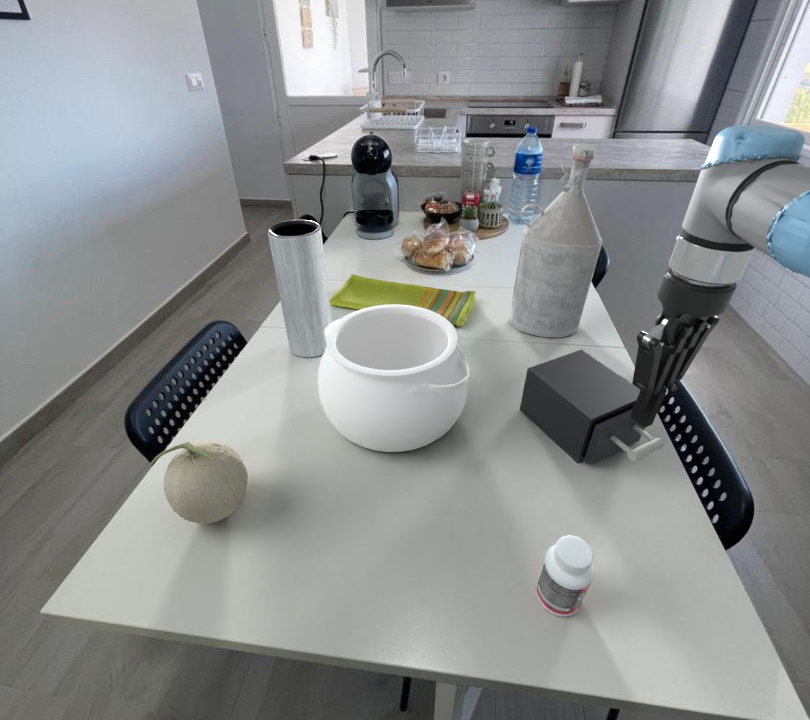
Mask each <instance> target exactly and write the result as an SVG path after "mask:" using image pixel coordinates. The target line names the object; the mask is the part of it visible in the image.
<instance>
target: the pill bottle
mask: <svg viewBox="0 0 810 720" xmlns="http://www.w3.org/2000/svg"><path fill="white" fill-rule="evenodd" d="M593 562H594V553H593V549H592V548H591V546H590V544H589V543H587V541H585V540H584V539H582V538H581V537H579V536H576V535H572V534H571V535H569V534H568V535H564V536H561V537H559V539H558V540H557V542H556V543H555V544H553V545H551V546H550V547H549V548H548V549H547V551H546V553H545V555H544V558H543V561H542V565H541V568H540V571H539V575H538V577H537V580H536V584H535V593H536V597H537V599H538V601H539V603H540V605H541V606H542V607H543V608H544V609H545V610H546V611H547V612H548V613H550V614H552V615H554V616H557V617H565V618H567V617H571V616H573V615H575V614H576V613H577V612H578V610H579V608H580V607H581V605H582V603H583V601H584V598H585V596H586V594H587V592H588V589H589V587H590V585H591V583H592V581H593V578H594V573H595V572H594V571H595V570H594V565H593Z"/></svg>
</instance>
